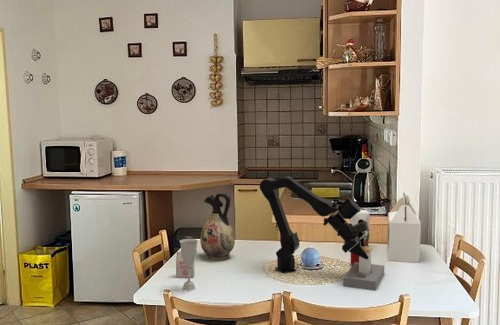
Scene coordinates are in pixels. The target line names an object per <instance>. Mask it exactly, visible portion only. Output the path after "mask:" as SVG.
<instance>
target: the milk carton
mask: <svg viewBox="0 0 500 325" xmlns="http://www.w3.org/2000/svg"><path fill="white" fill-rule="evenodd" d="M370 218H371V217H370V212H369V211H368V210H367V209H361V210H360V211H359V212H358V213H357V214H356V215H354V216H353V217H352V218H351V219H349V223H351V224H352V225H355V224H358V221H359V220H360V219H363V220H364V221H366V222H367V223H368V224H367V225H368V227H369V229H368V230H367V231H364V232H365V234H364V235H363V236H362V237H364V236H365V239H366V241H367V247H369V242H370V223H371V222H370V220H371V219H370Z"/></svg>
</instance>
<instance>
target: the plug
mask: <svg viewBox="0 0 500 325" xmlns="http://www.w3.org/2000/svg"><path fill="white" fill-rule="evenodd" d="M361 247H362V248H363V250H364V251H365V253H366V254H367V256H368V257H369V258H368V259H364V258H362V257H360V256H359V273H367V274H370V272H371V264H372V248H373V247H372V246H368V247H367V246H361Z"/></svg>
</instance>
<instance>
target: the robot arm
mask: <svg viewBox="0 0 500 325" xmlns="http://www.w3.org/2000/svg"><path fill="white" fill-rule="evenodd" d="M283 188H286V189H288V190H290V191H291V192H292V193H294V194H295V195H297V196H298V197H299V198H301V199H302V200H303V201H305V202H306V203H308V204H309V205H310V206H311V208H312V209H313V210H314V211H315V212H316V213H317V215H318V216H320V217H324V218H323V226H326V225H328V224H329V225H330V227H331V228H332V229H333V230H335V232H336V235H337V237H341V239H342V240H343V241H344V242H343V244H342V246H341V250H342V251H343V252H344V254H346V253H350V254H351V253H353V254H356V255H358V256H360V257H362V258H364V259H368V258H369V257H368V256H367V254H366V253H365V251H364V250H363V248H362V247H361V246H366V245H365V243H364V238H365V236H364V237H363V238H361V237H362V236H363V235H364V234H365V232H364V231H367V230H368V229H369V230H370V226H369V227H368V225H367V224H368V223H367V222H366V221H364V220H363V219H360V220H359V221H358V224H355V225H352V224H351V223H350V222H349V223H348V222H347V221H346V220H347V219H348V220H350V219H351V218H352V217H353V216H354V215H356V214H357V213H358V212H359V211H360V210H362V209H361V206H359V204H358V203H357V202H356V201H354V200H353V199H351V198H350V197H347V198H346V199H345V200H344V201H343V203H341V204H336V203H333V202H332V201H331V200H329V199H327V198H325V197H322V196H319V195H317V194H315V193H314V192H312V191H311V190H309V189H308V188H306V187H305V186H303V185H302V184H301V183H299V182H298V181H296V180H295V179H294V178H293V177H292V176H285V177H280V178H274V177H268V178H265V179H263V180H262V181H260V184H259V189H260V191H261V193H262V195H263V197H264V198H265V199H266V200H267V202H268V203H269V207H270V209H271V211H272V214H273V217H274V220H275V223H276V226H277V229H278V231H279V235H280V236H279V237H280V239H279V241H280V248H279V249H278V250H277V251H276V252H275V256H276V257H277V260H276V263H277V267H275V268H274V270H277V271H278V272H281V273H283V274H286V273H290V272H295V271H296V270H297V269H296V268H295V266H296V259H295V252H296V251H297V250H298V249H299V248H300V241H301V240H300V239H299V236H298V232H297V231H296V232H293V231H292V230H291V227H290V224H289V222H288V219H287V216H286V213H285V210H284V208H283V205H282V202H281V200H280V189H283ZM336 212H337V213H336ZM335 213H336V214H335ZM296 272H297V271H296Z"/></svg>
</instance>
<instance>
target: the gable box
mask: <svg viewBox="0 0 500 325" xmlns="http://www.w3.org/2000/svg"><path fill="white" fill-rule="evenodd" d="M421 231H422V223H421V220H420V218H419V216H418V214H417V212H416V211H415V209H414V207H413V206H412V205H411V202H410V198H409V195H408V194H406V193H405V192H402V198H399V199H398V200H397V201H396V203H395V204H394V205H393V206H392V208H391V210H390V211H389V212H388V213H387V237H386V239H387V246H386V251H387V252H386V253H387V260H388V261H389V262H402V263H415V264H419V263H420V258H421V257H420V255H421V254H420V253H421V233H422V232H421Z"/></svg>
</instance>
